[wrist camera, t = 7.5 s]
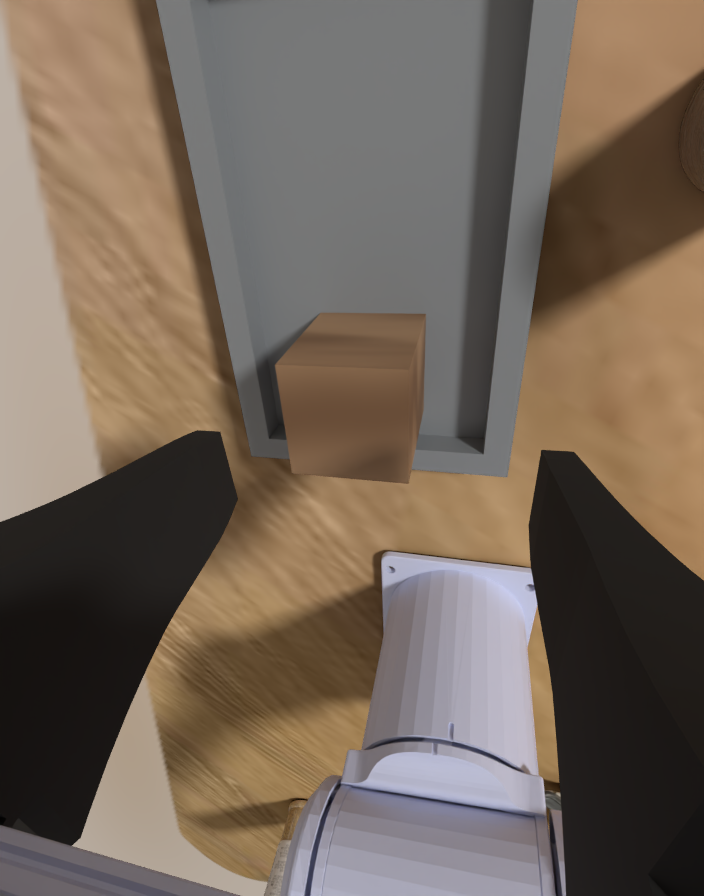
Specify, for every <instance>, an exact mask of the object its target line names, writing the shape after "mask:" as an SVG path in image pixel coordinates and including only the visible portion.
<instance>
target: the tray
mask: <svg viewBox="0 0 704 896" xmlns="http://www.w3.org/2000/svg"><path fill="white" fill-rule="evenodd" d="M577 1H578V0H156V3H157V8H158V13H159V17H160V22H161V27H162V32H163V37H164V41H165V46H166V51H167V56H168V60H169V65H170V70H171V75H172V80H173V84H174V89H175V94H176V99H177V103H178V108H179V113H180V118H181V122H182V127H183V132H184V137H185V142H186V146H187V151H188V156H189V161H190V165H191V170H192V175H193V180H194V184H195V189H196V194H197V199H198V204H199V208H200V213H201V218H202V223H203V227H204V232H205V237H206V242H207V246H208V251H209V256H210V261H211V266H212V270H213V275H214V280H215V285H216V289H217V294H218V299H219V304H220V309H221V313H222V318H223V323H224V328H225V332H226V337H227V342H228V347H229V351H230V356H231V361H232V366H233V371H234V375H235V380H236V385H237V390H238V394H239V399H240V404H241V409H242V413H243V418H244V423H245V428H246V433H247V437H248V442H249V447H250V452H251V456H254V457H266V458H279V459H290V457H289V451H288V444H287V438H286V432H285V425H284V419H283V413H282V406H281V400H280V394H279V387H278V381H277V375H276V368H275V364H276V363H277V362H278V361H279V360H280V359H281V357H282V356H283V355H284V354H285V353H286V352H287V351H288V349H289V348H290V347H291V346H292V345H293V344H294V343H295V341H296V340H297V339H298V338H299V337H300V336H301V335H302V334H303V332H304V331H305V330H306V329H307V328H308V327H309V326H310V324H311V323H312V322H313V321H314V320H315V319H316V318H317V316H318V315H319V314H320V313H403V314H426V336H425V374H424V411H423V415H422V420H421V425H420V430H419V435H418V440H417V444H416V449H415V454H414V459H413V464H412V469H413V470H425V471H437V472H449V473H462V474H474V475H486V476H498V477H507V476H508V469H509V462H510V456H511V449H512V442H513V435H514V428H515V422H516V415H517V408H518V401H519V395H520V388H521V381H522V374H523V367H524V361H525V354H526V347H527V340H528V334H529V327H530V320H531V313H532V306H533V300H534V293H535V286H536V279H537V273H538V266H539V259H540V252H541V245H542V239H543V232H544V225H545V218H546V212H547V205H548V198H549V191H550V184H551V178H552V171H553V164H554V157H555V151H556V144H557V137H558V130H559V123H560V117H561V110H562V103H563V96H564V90H565V83H566V76H567V69H568V62H569V56H570V49H571V42H572V35H573V29H574V22H575V15H576V8H577Z"/></svg>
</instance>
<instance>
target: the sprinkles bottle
mask: <svg viewBox="0 0 704 896" xmlns="http://www.w3.org/2000/svg"><path fill="white" fill-rule="evenodd" d="M306 802H307V801H306V800H295V801H293V802H291V803H290V805H289V813H288V817H287V820H286V824H285V828H284V832H283V835H282V838H281V841H280V843H279V845H278V849H277V852H276V856H275V859H274V863H273V866H272V870H271V873H270V877H269V880H268V884H267V888H266V891H265V894H264V896H280V894H281V887H282V880H283V874H284V869H285V864H286V860H287V855H288V851H289V847H290V843H291V840H292V837H293V833H294V830H295V827H296V824H297V822H298V819H299V817H300V814H301V812H302V810H303V808H304V806H305V804H306Z"/></svg>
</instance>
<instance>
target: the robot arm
mask: <svg viewBox="0 0 704 896" xmlns="http://www.w3.org/2000/svg"><path fill="white" fill-rule="evenodd" d="M237 500H238V498H237V494H236V490H235V486H234V483H233V479H232V475H231V471H230V467H229V464H228V460H227V456H226V452H225V448H224V445H223V441H222V437H221V433H220V432H215V431H198V430H197V431H195V432H192V433H190V434H187V435H185V436H183V437H181V438H178V439H176V440H174V441H172V442H170V443H168V444H166V445H164V446H163V447H161V448H159V449H157V450H155V451H153V452H151V453H149V454H147V455H145V456H143V457H142V458H140V459H138V460H136V461H134V462H132V463H130V464H128V465H126V466H124V467H123V468H121V469H119V470H117V471H115V472H113V473H111V474H109V475H107V476H105V477H103V478H101V479H99V480H97V481H95V482H93V483H91V484H88V485H86V486H84V487H82V488H80V489H78V490H76V491H74V492H72V493H70V494H68V495H66V496H63V497H61V498H59V499H57V500H54V501H52V502H50V503H47V504H45V505H43V506H40V507H38V508H35V509H33V510H31V511H28V512H25V513H23V514H20V515H18V516H15V517H13V518H10V519H8V520H5V521H2V522H0V896H240V895H236V894H233V893H229V892H226V891H223V890H219V889H216V888H213V887H209V886H206V885H202V884H199V883H196V882H192V881H189V880H185V879H182V878H179V877H175V876H172V875H168V874H165V873H162V872H158V871H154V870H151V869H148V868H145V867H141V866H137V865H134V864H131V863H128V862H124V861H120V860H117V859H113V858H110V857H107V856H104V855H100V854H97V853H93V852H90V851H87V850H83V849H80V848H76V847H73V846H72V845H73V844H74V843H75V842H76V841H77V840H78V839H80V838H81V835H82V832H83V829H84V826H85V823H86V820H87V817H88V814H89V811H90V809H91V806H92V803H93V800H94V797H95V795H96V792H97V789H98V786H99V784H100V781H101V778H102V775H103V773H104V770H105V767H106V764H107V761H108V759H109V757H110V754H111V752H112V749H113V747H114V744H115V741H116V739H117V737H118V734H119V732H120V729H121V727H122V724H123V722H124V719H125V717H126V714H127V712H128V710H129V707H130V705H131V703H132V701H133V698H134V696H135V694H136V692H137V689H138V687H139V684H140V682H141V680H142V678H143V676H144V674H145V671H146V669H147V667H148V665H149V663H150V661H151V659H152V657H153V654H154V652H155V650H156V648H157V646H158V644H159V642H160V640H161V638H162V636H163V634H164V632H165V630H166V628H167V626H168V624H169V622H170V621H171V619H172V617H173V615H174V614H175V612H176V610H177V608H178V607H179V605H180V604H181V602H182V600H183V599H184V597H185V596H186V594H187V592H188V591H189V589H190V587H191V586H192V584H193V583H194V581H195V579H196V578H197V576H198V575H199V573H200V571H201V570H202V568H203V566H204V565H205V563H206V562H207V560H208V558H209V557H210V555H211V553H212V552H213V550H214V548H215V547H216V545H217V543H218V542H219V540H220V538H221V537H222V535H223V533H224V531H225V528H226V526H227V524H228V522H229V520H230V517H231V515H232V512H233V510H234V507H235V505H236V502H237ZM529 543H530V561H531V568H524V567H516V566H507V565H499V564H491V563H483V562H474V561H466V560H458V559H449V558H441V557H433V556H424V555H416V554H408V553H400V552H385V553H384V554H383V555H382V560H381V573H382V600H383V628H384V636H383V641H382V646H381V651H380V656H379V662H378V667H377V672H376V677H375V682H374V687H373V693H372V698H371V703H370V708H369V713H368V718H367V724H366V729H365V734H364V739H363V744H362V749H361V750H348V752H347V756H346V761H345V766H344V770H343V775H342V776H338V775H331V776H329V777H327V778H326V779H325V780H324V781H323V782H322V783H321V784H320V786H319V787H318V789H317V790H316V791H315V792H314V793H313V794H312V795H311V796H310V798H309V799H308V801H307V802H306V804H305V806H304V808H303V810H302V812H301V814H300V817H299V819H298V822H297V824H296V827H295V830H294V833H293V837H292V840H291V843H290V847H289V851H288V855H287V860H286V864H285V869H284V874H283V880H282V887H281V894H280V896H704V581H703V580H702V579H701V578H700V577H698V576H697V575H696V574H695V573H693V572H692V571H691V570H690V569H689V568H687V567H686V566H685V565H684V564H683V563H681V562H680V561H679V560H678V559H677V558H676V557H675V556H673V555H672V554H671V553H670V552H669V551H668V550H667V549H666V548H665V547H664V546H663V545H662V544H660V543H659V542H658V541H657V540H656V539H655V538H654V537H653V536H652V535H651V534H650V533H648V532H647V531H646V530H645V529H644V528H643V527H642V526H641V525H640V524H639V523H638V522H637V521H636V520H635V519H634V518H633V517H632V516H631V515H630V513H629V512H628V511H627V510H626V509H625V508H624V507H623V506H622V505H621V504H620V503H619V502H618V501H617V500H616V499H615V498H614V497H613V495H612V494H611V493H610V492H609V491H608V490H607V489H606V488H605V487H604V485H603V484H602V483H601V482H600V481H599V480H598V479H597V478H596V476H595V475H594V474H593V473H592V472H591V471H590V469H589V468H588V467H587V466H586V465H585V464H584V463H583V461H582V460H581V459H580V458H579V457H578V456H577V455H576V454H575V453H574V452H568V451H550V450H541V456H540V462H539V468H538V474H537V480H536V486H535V491H534V497H533V503H532V509H531V515H530V521H529ZM389 566H391V567H393V568H391V567H389ZM528 584H532V585H528ZM537 605H538V610H539V616H540V621H541V626H542V632H543V637H544V643H545V648H546V653H547V659H548V664H549V670H550V677H551V684H552V691H553V703H554V715H555V727H556V740H557V753H558V767H559V782H560V796H561V811H559V810H553V809H550V813H549V829H550V838H549V831H548V824H547V813H546V802H545V792H544V781H543V778H542V777H541V776H539V775H538V764H537V752H536V741H535V730H534V718H533V707H532V696H531V684H530V673H529V662H528V650H527V647H528V642H529V638H530V634H531V629H532V625H533V621H534V617H535V612H536V608H537Z"/></svg>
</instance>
